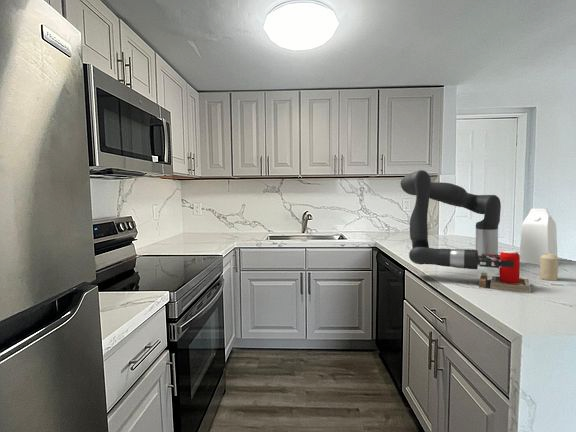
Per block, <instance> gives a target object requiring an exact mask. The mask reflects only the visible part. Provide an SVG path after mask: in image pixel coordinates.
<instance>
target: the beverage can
mask: <svg viewBox="0 0 576 432" xmlns="http://www.w3.org/2000/svg"><path fill="white" fill-rule="evenodd" d="M499 255H500V260H501V261H502V260H506V261H514V267H502V266H501V267H499V268H498V270H499V271H498V272H499V273H498V274H499V275H498V276H499V280H500V282H502V283H510V284H518V283H519V282H520V278H521V277H520V276H521V275H520V273H521V272H520V271H521V270H520V269H521V267H520V265H521V264H520V263H521V262H520V256H519V255H520V253H518V251H516V250H509V249H508V250H502V251H500V253H499Z"/></svg>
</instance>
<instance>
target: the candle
mask: <svg viewBox="0 0 576 432" xmlns="http://www.w3.org/2000/svg"><path fill="white" fill-rule="evenodd" d="M557 257H558V256H557ZM557 257H556V256H555V255H554V254H553V255H552V254H551V253H547V254H545V255H542V256H541V257H540V265H539V279H540V280H545V281H558V273H559V270H558V269H559V267H558V265H559V258H557Z"/></svg>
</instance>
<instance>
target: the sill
mask: <svg viewBox="0 0 576 432" xmlns="http://www.w3.org/2000/svg"><path fill="white" fill-rule="evenodd" d="M487 282H488V273H487V272H481V274H480V277H479V281H478V287H479V289H480V288H482V289H486V287H487Z"/></svg>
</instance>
